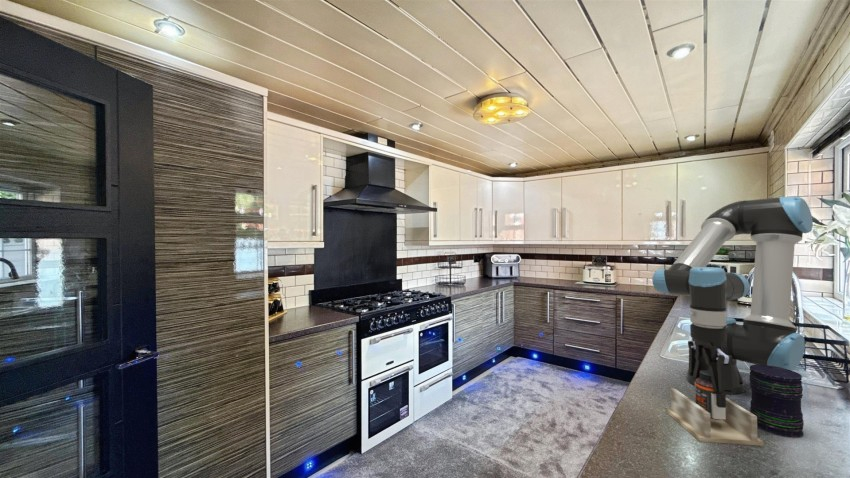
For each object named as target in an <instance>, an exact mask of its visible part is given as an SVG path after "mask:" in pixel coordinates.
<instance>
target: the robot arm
mask: <svg viewBox="0 0 850 478" xmlns="http://www.w3.org/2000/svg"><path fill="white" fill-rule="evenodd" d="M813 223H814V221H813V216H812V212H811V209H810V207H809V205H808V203H807V201H805V199H803V198H802V197H800V196H779V197H770V198H768V197H767V198H760V199H749V200H739V201H735V202H731V203H729V204H727V205H724V206H722V207H721V208H718V209H717V210H716V211H714V212H712V214H710V215H709V216H708V217H706V219H705V220H704V221H702V224H701V225H700V231H699V232H698V233H697V234H696V236H695V237H694V238H693V239H692V240H691V242H690V243H689V244H688V245H687V247H685V249H684V251H683V252H682V253H681V254H680V255H679V256H678V257H677V259H676V260H675V261H674V262H673V264H672V265H671V266H670V267H669V268H668V269H666V268H663V269H656V271H654V273H653V276H652V286H653V288H654V290H655V291H657V292H658V293H659V292H660V293H664V294H669V295H678V296H688V297H689V308H690V309H689V317H690V318H689V319H690V322H691V324H690V325H689V330H690V333H689V335H690V338H691V340H688V341H687V346H688V370H687V372H686V380H687V382H689V383H690V384H692V385H694V386H695V380H696V379H697V378H699V377H700V371H701V370H707V371H710V375H711V380H712V385H713V389H714V391H711V400H712V418H714V419H726V412H725V407H726V398H727V397H726V396H733V395H735V394H742V393H744V392H745V382H744V379H743V378H742V375H741V373H740V371H739V368H738V364H737V361H739V362H744V363H749V364H751V365H769V366H775V367H780V368H784V369H788V370H791V371H794V370H795V369H796V368H797V367H798V366H799V365H800V363H801V362H802V360H803V357H804V355H805V348H806V344H805V342H806V341H805V337H804V336H803V335H802V334H800V333H798V332H797V326H795V325H794V323H792V321H790V314H791V303H792V301H791V299H792V286H793V271H794V260H795V259H794V258H795V246H796V244H798V243H799V242H801V241H802V240H803V234H808V233H810V232H811V231H812V229H813V225H814V224H813ZM737 235H750V239H751V240H753V242H754V243H755V258H754V269H753V280H752V291H751V292H752V293H751V301H750V302H751V303H750V304H751V306H750V314H749V315H748V316H746V317H745V318H743V323H742V324H740V323H737V321H736V319H735V318H734V317H728V316H727V315H728V314H727V301H735V300H738V299H741V298H743V297H745V296H746V295H748V293H749V292H750V287H751V286H750V283H749V281H748V279H747V278H746V277H744V275H742V274H739V273H736V272H726V270H724V268H721V267H713V266H711V267H710V266H708V265H709V263H710V262H711V261H712V260H713V258H714V257H715V255H716V254H717V253H718V252H719V251H720V249H721V248H722V246H723V245H724V244H725V243H726V242H727V241H730V240H732V239H733V238H734V237H735V236H737ZM694 402H695V403H696V401H694Z"/></svg>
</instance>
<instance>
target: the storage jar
mask: <svg viewBox="0 0 850 478" xmlns="http://www.w3.org/2000/svg"><path fill="white" fill-rule="evenodd" d="M748 377H749V378H748V379H749V387H750V389H751V393H750V394H751V400H750V406H749V409H750V410H749V412H751V413H752V414H754V415H756V416H757V429H760V430H762V431H764V432H765V433H769V434H772V435H776V436H779V437H783V438H789V439H790V438H792V439H799V438H800V439H801V438H803V436H804V432H803V430H804V421H805V420H804V414H803V412H802V399H803V396H804V394H803V388H804V387H803V381H802V379H803V376H802V374H800V373H799V372H797V371H794V370H788V369H784V368H780V367H775V366H769V365H756V364H751V365H749V375H748Z"/></svg>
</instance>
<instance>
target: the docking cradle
mask: <svg viewBox="0 0 850 478" xmlns="http://www.w3.org/2000/svg"><path fill="white" fill-rule="evenodd" d="M669 390H670V391H669V394H670V398H669V399H670V400H669V401H670V408H669V407H667V408H665V412H666V413H667V414H668V415H669V416H670V417H672V418H673V419H674V421H676V422H677V423H678V424H679V425H681V426H682V428H684V429H685V431H687V432H689V434H690V435H692V437H694V438H695V439H696V440H697V441H699V442H703V443H705V442H706V443H718V444H719V443H720V444H733V445H746V446H761V447H764V446H765V443H764V441H763V440H762V439H761V438H759V437H758V428H757V416H756V415H754V414H752V413H751V412H750V410H747V409H745V408H744V407H743V406H740V405H739V404H737V403H736V402H734V401H732V400H731V399H729V398H728V397H726V407H725V412H726V419H722V420H714V419H710V413H709V412H707V411H706V410H704V409H703V408H702V407H700V406H699V405H698V404H696V403H695V401H694V400H692V399H691V398H689V397H688V396H687V395H685V394H684V393H682V392H681V391H679V390H678V389H676V388H675V387H670V389H669Z"/></svg>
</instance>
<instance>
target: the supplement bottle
mask: <svg viewBox="0 0 850 478" xmlns="http://www.w3.org/2000/svg"><path fill="white" fill-rule="evenodd" d="M711 391H714V389H713V385H712V380H711V375H710V371H707V370H701V371H700V377H699V378H697V379H696V380H695V385H694V400H695V401H696V404H698V405H699V406H700V407H702V408H703V409H704V410H706V411H707V412H709V413H710V419H714V418H712V400H711ZM695 401H694V402H695ZM714 420H722V419H714Z"/></svg>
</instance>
